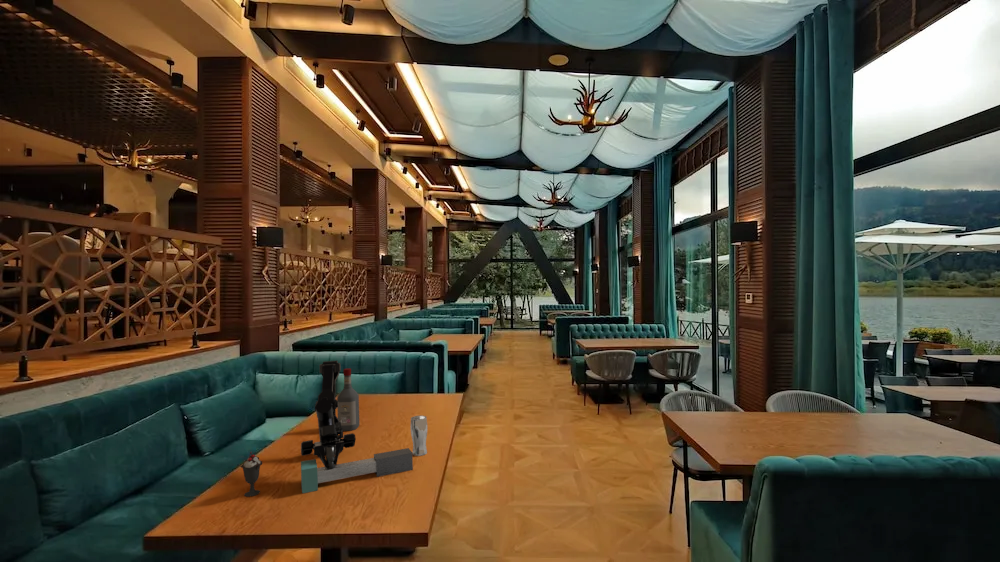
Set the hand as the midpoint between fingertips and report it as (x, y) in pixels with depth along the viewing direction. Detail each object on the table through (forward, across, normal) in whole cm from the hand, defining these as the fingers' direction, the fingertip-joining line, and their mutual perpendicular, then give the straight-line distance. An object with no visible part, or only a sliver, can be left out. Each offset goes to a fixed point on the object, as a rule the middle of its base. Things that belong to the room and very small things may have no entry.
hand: (330, 465), depth 166 cm
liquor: (-43, +16, +53) cm, 70 cm away
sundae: (0, -25, +9) cm, 27 cm away
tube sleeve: (+4, +22, +5) cm, 23 cm away
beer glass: (-5, +37, +14) cm, 40 cm away
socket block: (+4, -7, +6) cm, 10 cm away
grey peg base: (+3, +5, +4) cm, 7 cm away
